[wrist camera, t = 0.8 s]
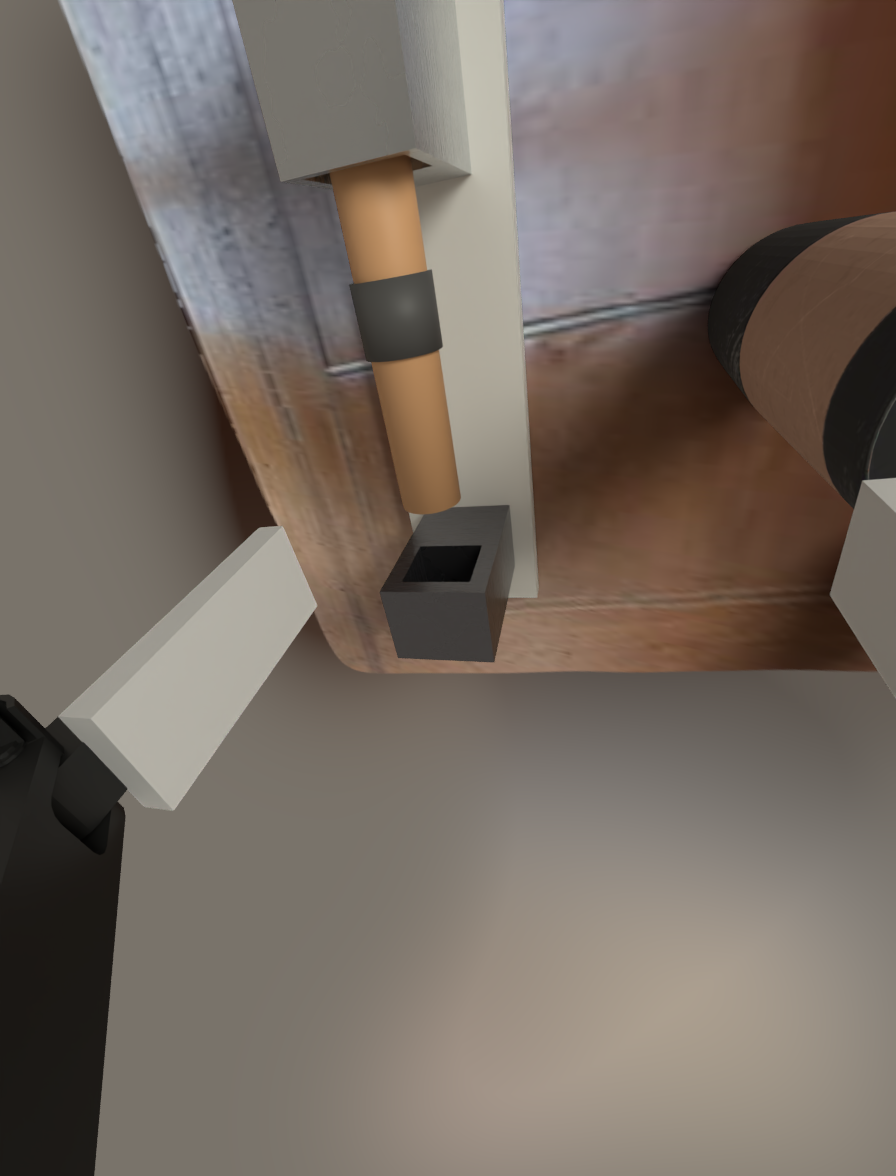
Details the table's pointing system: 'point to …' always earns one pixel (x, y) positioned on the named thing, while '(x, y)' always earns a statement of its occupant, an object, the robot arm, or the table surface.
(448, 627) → the charcoal socket
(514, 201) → the baseboard
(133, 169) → the table surface
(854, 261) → the travel mug
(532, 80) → the table surface
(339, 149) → the light grey block
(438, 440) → the orange tube
